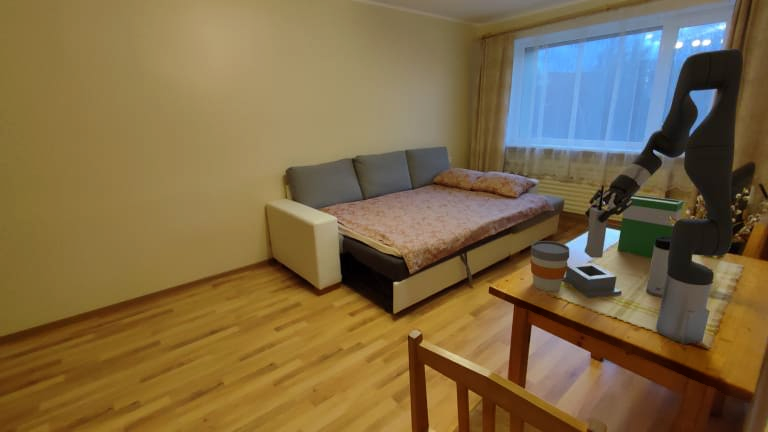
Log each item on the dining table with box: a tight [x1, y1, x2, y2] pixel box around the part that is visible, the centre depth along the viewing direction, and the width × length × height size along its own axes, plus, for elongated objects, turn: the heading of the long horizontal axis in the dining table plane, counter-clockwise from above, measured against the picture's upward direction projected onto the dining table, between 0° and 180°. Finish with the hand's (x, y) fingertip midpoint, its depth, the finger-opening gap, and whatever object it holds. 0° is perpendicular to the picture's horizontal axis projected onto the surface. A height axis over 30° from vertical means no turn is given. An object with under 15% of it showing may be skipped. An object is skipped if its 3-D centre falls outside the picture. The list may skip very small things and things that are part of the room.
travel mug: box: [645, 237, 671, 298], centre depth 116 cm, size 6×7×20 cm
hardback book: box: [617, 194, 684, 259], centre depth 147 cm, size 18×7×24 cm, turn 39°
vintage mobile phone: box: [584, 185, 608, 259], centre depth 119 cm, size 4×5×25 cm
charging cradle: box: [562, 262, 622, 299], centre depth 125 cm, size 16×12×6 cm
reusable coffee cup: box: [530, 240, 570, 292], centre depth 125 cm, size 13×13×15 cm
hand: (593, 218), depth 119 cm, fingers closed on vintage mobile phone, 5 cm apart
